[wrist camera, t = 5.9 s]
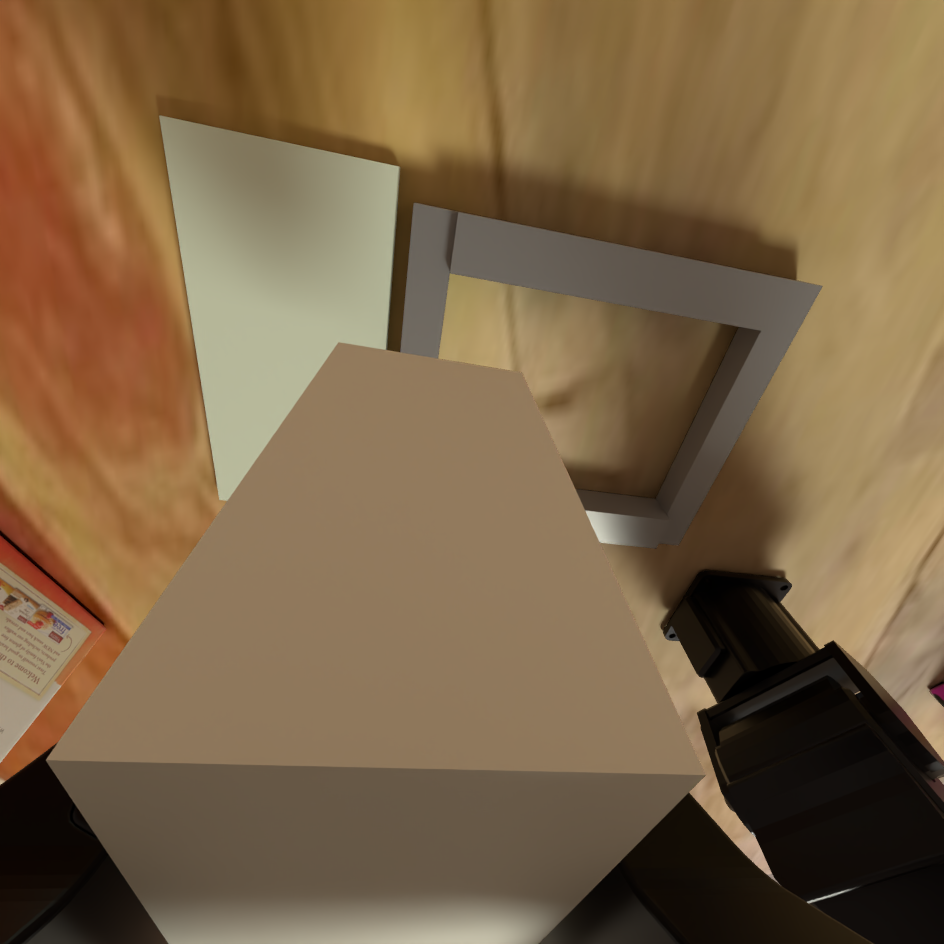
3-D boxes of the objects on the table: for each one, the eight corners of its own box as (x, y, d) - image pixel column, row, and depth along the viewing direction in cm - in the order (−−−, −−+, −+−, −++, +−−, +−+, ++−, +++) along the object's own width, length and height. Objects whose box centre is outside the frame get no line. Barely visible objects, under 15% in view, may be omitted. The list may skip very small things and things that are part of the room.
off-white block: (522, 372, 10) (705, 774, 3) (460, 611, 14) (478, 1003, 7) (338, 342, 9) (44, 759, 2) (332, 600, 13) (219, 1018, 7)
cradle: (797, 280, 19) (832, 288, 17) (667, 528, 26) (682, 551, 24) (416, 202, 17) (412, 202, 15) (389, 497, 24) (384, 519, 22)
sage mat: (400, 167, 16) (398, 166, 16) (375, 509, 24) (373, 516, 24) (169, 118, 15) (158, 115, 15) (224, 493, 23) (219, 499, 23)
